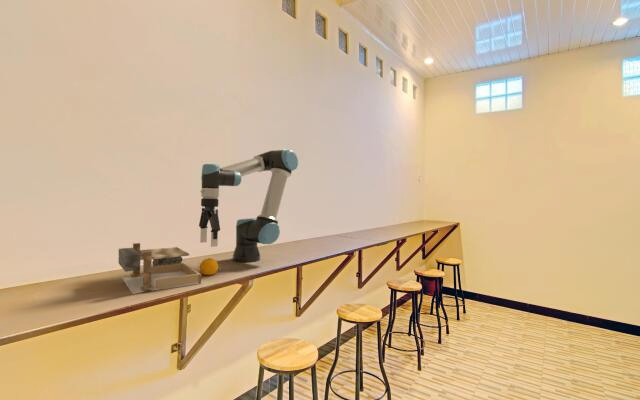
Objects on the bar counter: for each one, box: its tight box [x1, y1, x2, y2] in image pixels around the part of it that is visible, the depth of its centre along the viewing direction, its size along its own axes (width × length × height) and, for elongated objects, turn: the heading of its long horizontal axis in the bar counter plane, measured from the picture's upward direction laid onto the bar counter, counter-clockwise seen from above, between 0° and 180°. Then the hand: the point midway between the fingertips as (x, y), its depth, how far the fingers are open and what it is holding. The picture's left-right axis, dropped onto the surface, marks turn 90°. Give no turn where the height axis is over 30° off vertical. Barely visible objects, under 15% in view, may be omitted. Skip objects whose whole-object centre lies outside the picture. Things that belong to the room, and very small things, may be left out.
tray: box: [122, 262, 202, 295], centre depth 141 cm, size 25×24×4 cm
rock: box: [152, 256, 183, 267], centre depth 161 cm, size 16×8×10 cm, turn 142°
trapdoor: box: [118, 246, 190, 273], centre depth 138 cm, size 23×19×6 cm
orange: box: [199, 257, 219, 276], centre depth 154 cm, size 8×8×8 cm
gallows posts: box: [129, 242, 154, 293], centre depth 136 cm, size 4×26×15 cm, turn 38°
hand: (208, 244), depth 153 cm, fingers open, 13 cm apart
